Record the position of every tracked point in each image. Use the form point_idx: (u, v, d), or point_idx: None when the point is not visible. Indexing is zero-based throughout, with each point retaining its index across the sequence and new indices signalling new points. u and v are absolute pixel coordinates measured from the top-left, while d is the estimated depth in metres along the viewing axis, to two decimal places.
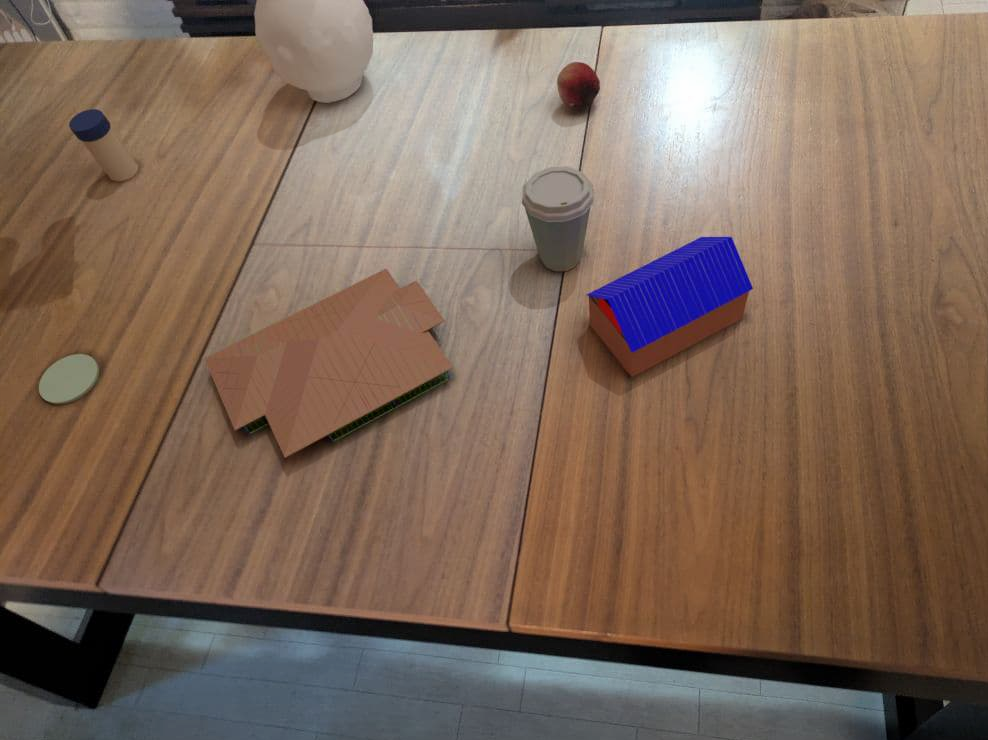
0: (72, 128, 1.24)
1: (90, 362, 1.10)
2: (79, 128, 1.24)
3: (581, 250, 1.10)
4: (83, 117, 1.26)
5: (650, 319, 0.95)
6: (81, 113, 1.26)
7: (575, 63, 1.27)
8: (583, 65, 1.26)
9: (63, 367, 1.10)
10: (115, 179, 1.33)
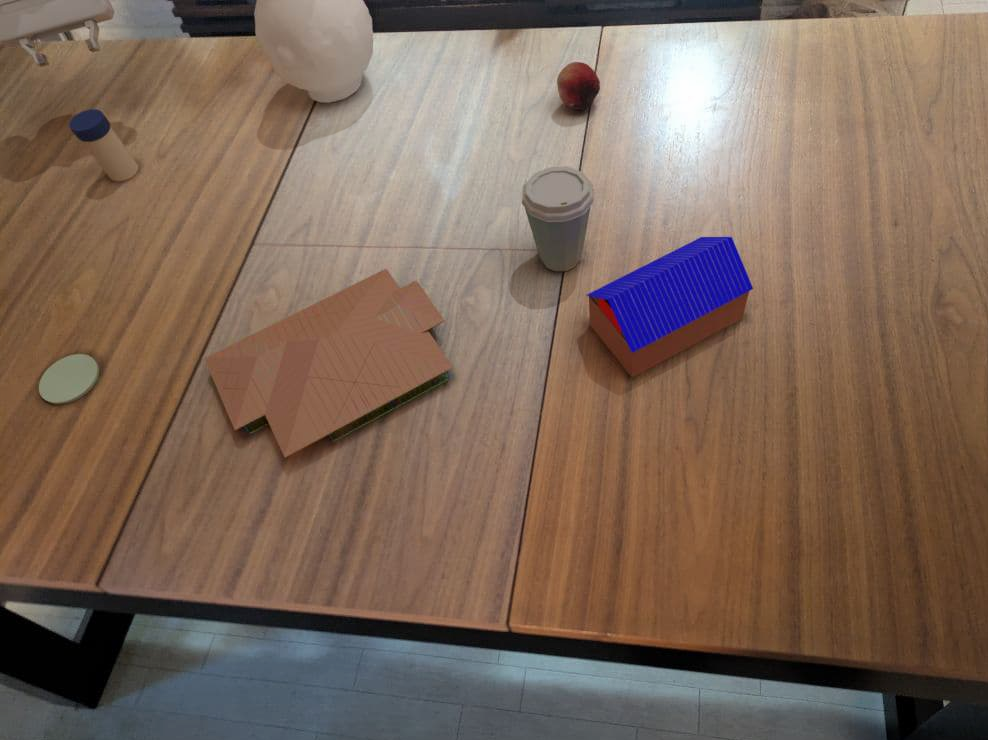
0: (72, 128, 1.24)
1: (90, 362, 1.10)
2: (79, 128, 1.24)
3: (581, 250, 1.10)
4: (83, 117, 1.26)
5: (650, 319, 0.95)
6: (81, 113, 1.26)
7: (575, 63, 1.27)
8: (583, 65, 1.26)
9: (63, 367, 1.10)
10: (115, 179, 1.33)
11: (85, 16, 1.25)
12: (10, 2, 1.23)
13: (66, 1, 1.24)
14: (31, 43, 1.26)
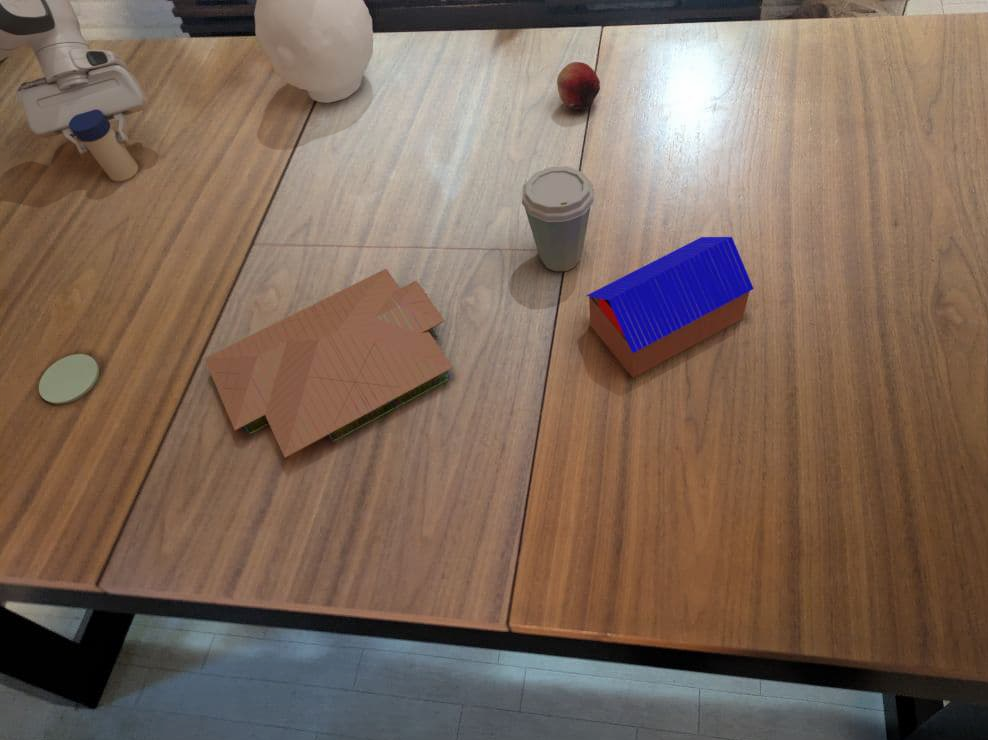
0: (72, 128, 1.24)
1: (90, 362, 1.10)
2: (79, 128, 1.24)
3: (581, 250, 1.10)
4: (83, 117, 1.26)
5: (651, 319, 0.95)
6: None
7: (575, 63, 1.27)
8: (583, 65, 1.26)
9: (63, 367, 1.10)
10: (115, 179, 1.33)
11: (122, 109, 1.27)
12: (48, 96, 1.25)
13: (103, 94, 1.26)
14: None
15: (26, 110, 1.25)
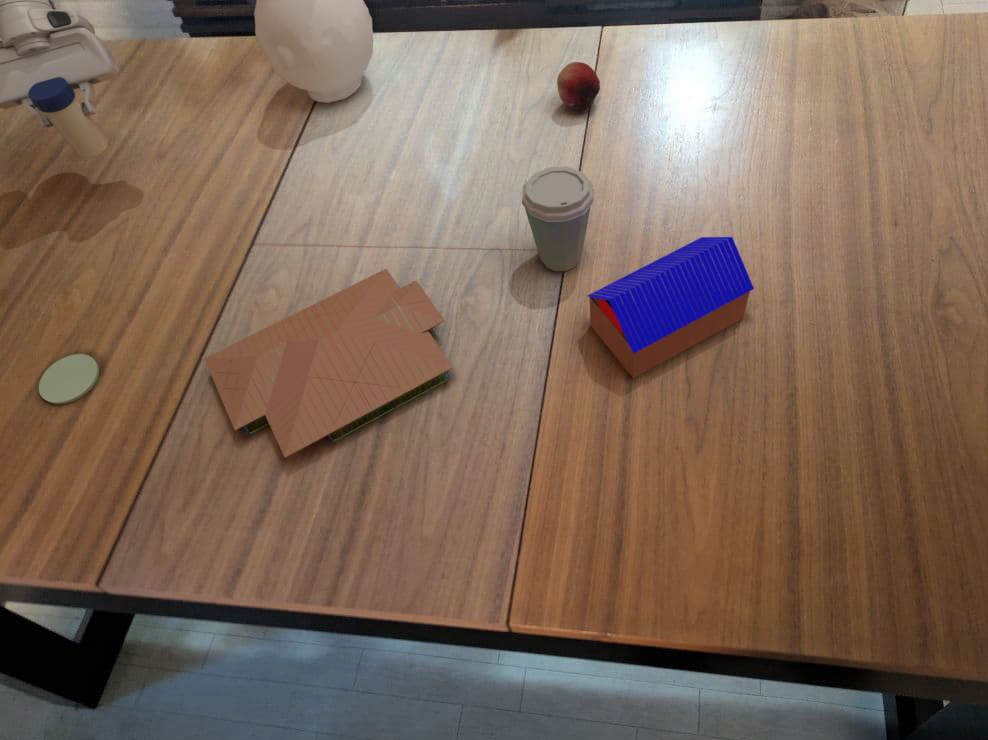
0: (31, 97, 1.11)
1: (90, 362, 1.10)
2: (39, 97, 1.11)
3: (581, 250, 1.10)
4: (44, 85, 1.13)
5: (651, 320, 0.94)
6: (42, 81, 1.14)
7: (575, 63, 1.27)
8: (583, 65, 1.26)
9: (63, 367, 1.10)
10: (82, 156, 1.20)
11: (88, 76, 1.15)
12: (6, 62, 1.12)
13: (67, 60, 1.14)
14: None
15: None
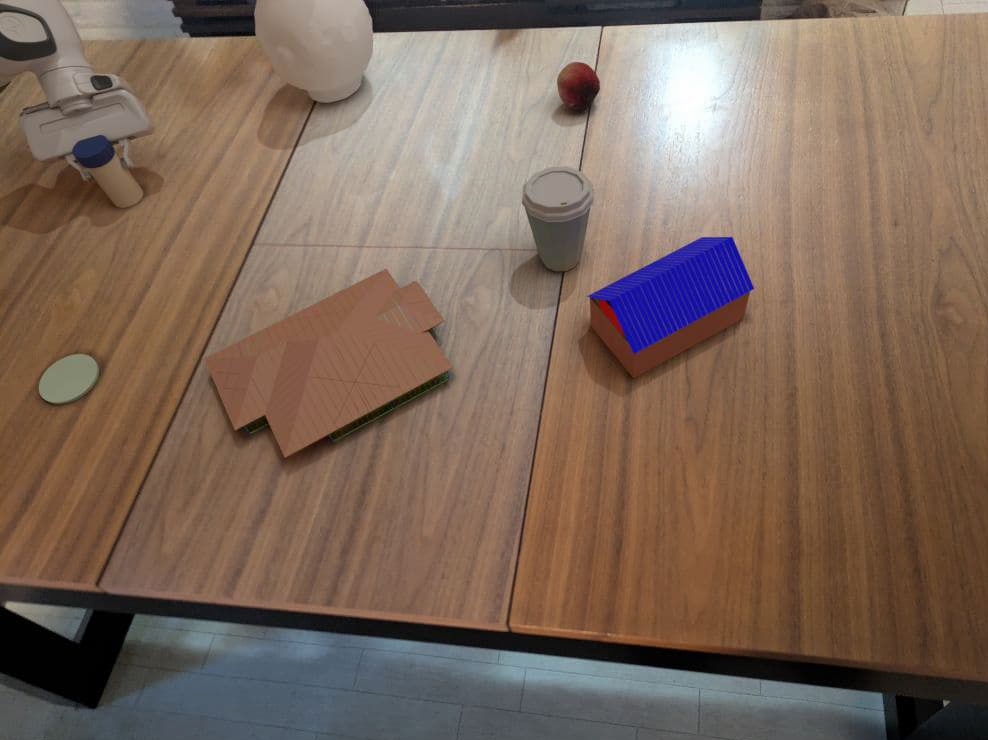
0: (75, 154, 1.20)
1: (90, 362, 1.10)
2: (83, 155, 1.20)
3: (581, 250, 1.10)
4: (87, 143, 1.22)
5: (652, 320, 0.94)
6: (85, 139, 1.22)
7: (575, 63, 1.27)
8: (583, 65, 1.26)
9: (63, 367, 1.10)
10: (119, 205, 1.29)
11: (127, 134, 1.23)
12: (51, 122, 1.21)
13: (108, 119, 1.22)
14: None
15: (28, 136, 1.21)
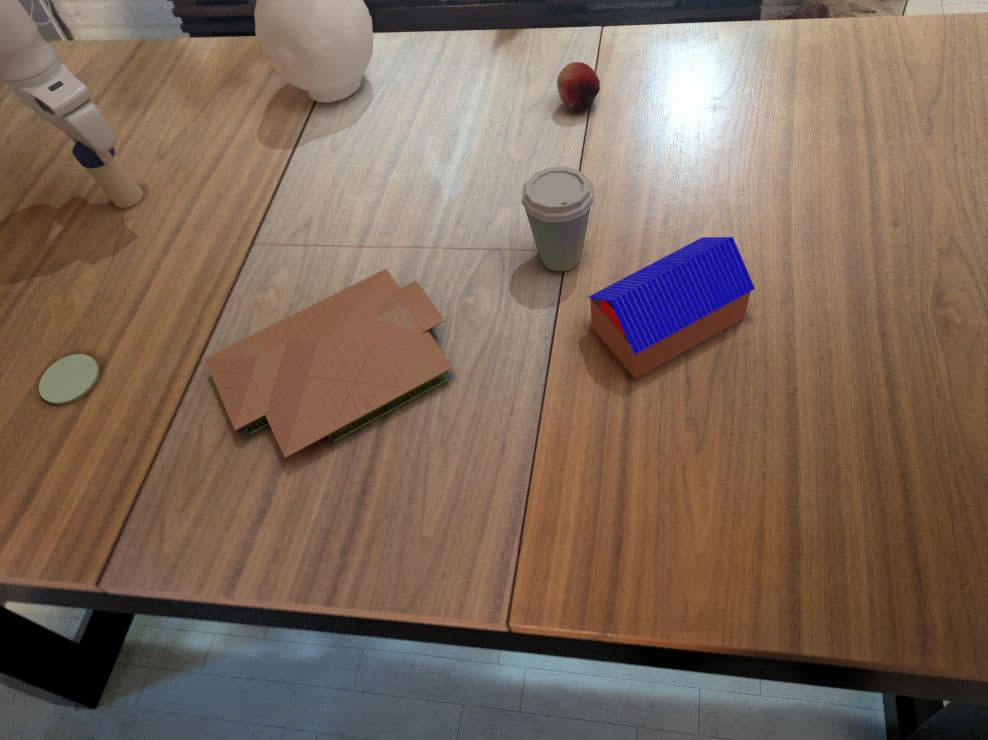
0: (75, 155, 1.20)
1: (90, 362, 1.10)
2: (83, 155, 1.20)
3: (581, 250, 1.10)
4: None
5: (653, 320, 0.94)
6: None
7: (575, 63, 1.27)
8: (583, 65, 1.26)
9: (63, 367, 1.10)
10: (119, 205, 1.29)
11: (89, 147, 1.15)
12: None
13: (69, 127, 1.14)
14: None
15: None
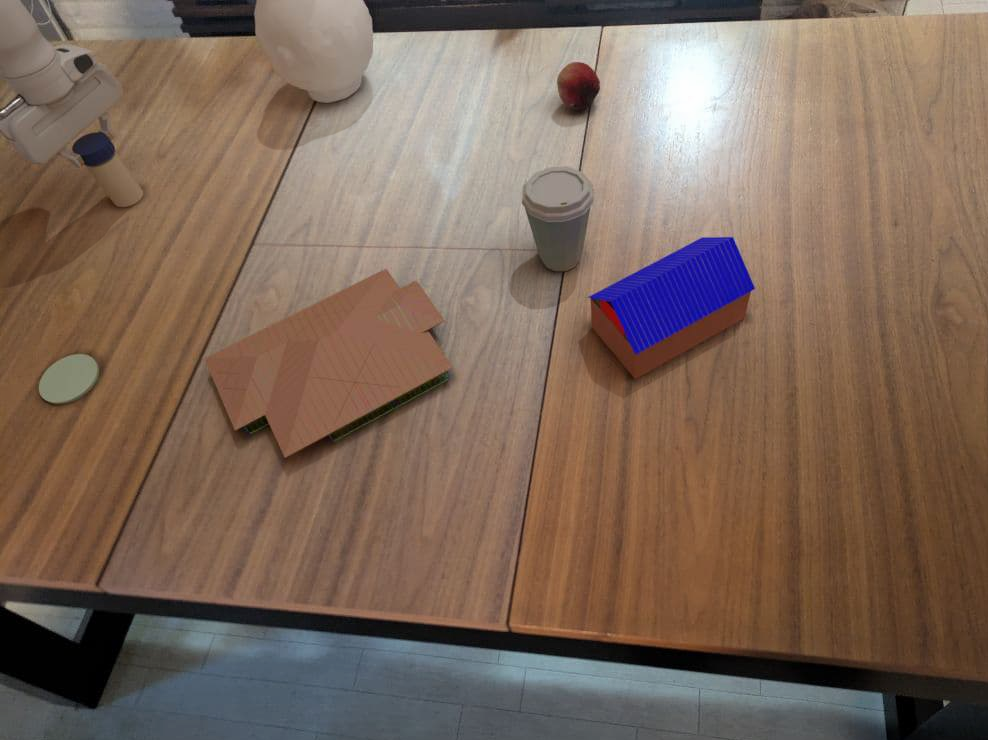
0: (100, 147, 1.20)
1: (90, 362, 1.10)
2: (102, 142, 1.21)
3: (581, 250, 1.10)
4: (84, 146, 1.21)
5: (653, 321, 0.94)
6: (76, 151, 1.20)
7: (575, 63, 1.27)
8: (583, 65, 1.26)
9: (63, 367, 1.10)
10: (119, 205, 1.29)
11: (110, 107, 1.20)
12: (40, 119, 1.11)
13: (90, 98, 1.17)
14: None
15: (25, 143, 1.10)
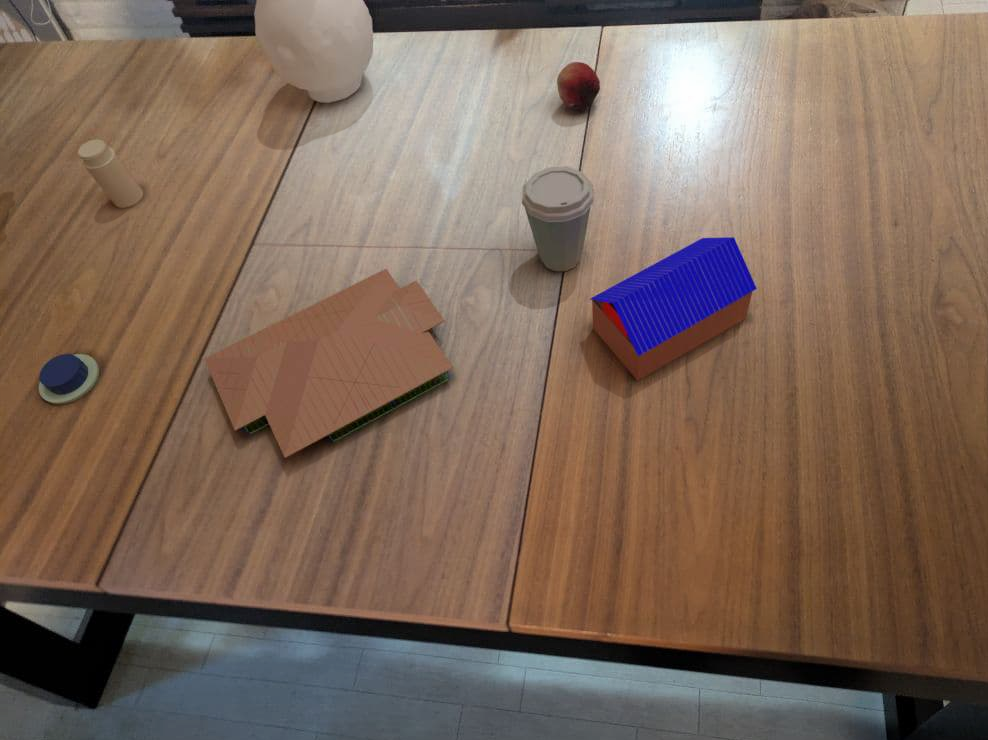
0: (77, 366, 1.07)
1: (90, 362, 1.10)
2: (73, 361, 1.07)
3: (581, 250, 1.10)
4: (57, 375, 1.06)
5: (655, 322, 0.94)
6: (52, 383, 1.05)
7: (575, 63, 1.27)
8: (583, 65, 1.26)
9: None
10: (119, 205, 1.29)
11: None
12: None
13: None
14: None
15: None
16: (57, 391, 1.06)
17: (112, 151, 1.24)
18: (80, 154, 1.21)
